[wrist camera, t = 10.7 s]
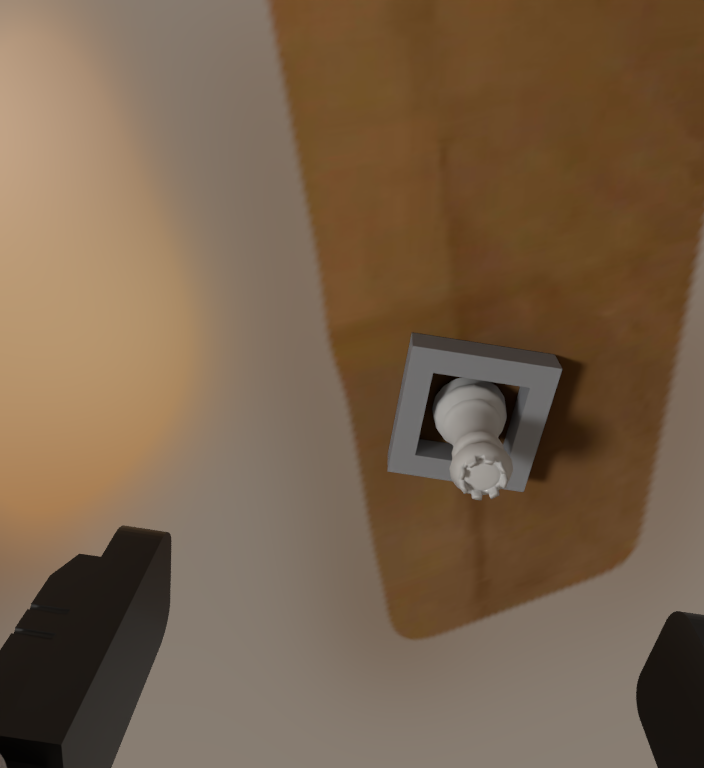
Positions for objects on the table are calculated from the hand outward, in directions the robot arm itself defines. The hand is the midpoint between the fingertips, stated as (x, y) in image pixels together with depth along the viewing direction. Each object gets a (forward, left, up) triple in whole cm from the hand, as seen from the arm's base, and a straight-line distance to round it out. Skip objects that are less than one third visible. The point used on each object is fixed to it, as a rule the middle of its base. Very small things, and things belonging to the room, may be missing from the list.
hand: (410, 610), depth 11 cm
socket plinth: (+11, +6, -28) cm, 31 cm away
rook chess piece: (+10, +6, -28) cm, 31 cm away
